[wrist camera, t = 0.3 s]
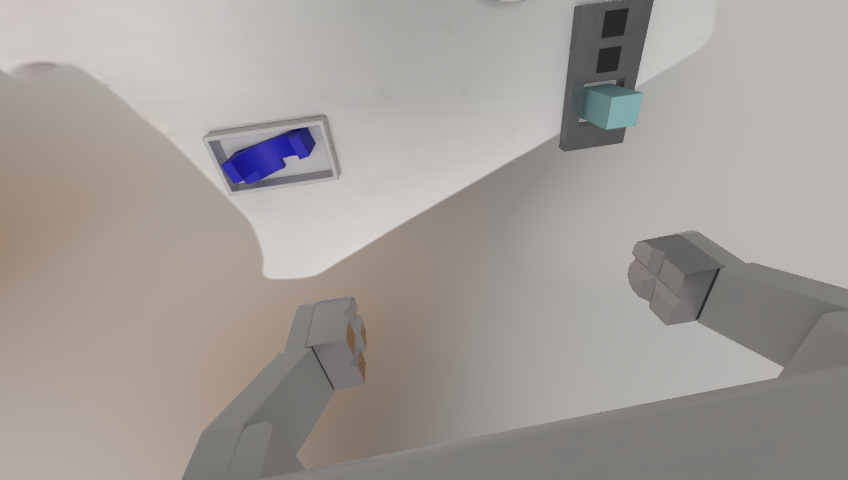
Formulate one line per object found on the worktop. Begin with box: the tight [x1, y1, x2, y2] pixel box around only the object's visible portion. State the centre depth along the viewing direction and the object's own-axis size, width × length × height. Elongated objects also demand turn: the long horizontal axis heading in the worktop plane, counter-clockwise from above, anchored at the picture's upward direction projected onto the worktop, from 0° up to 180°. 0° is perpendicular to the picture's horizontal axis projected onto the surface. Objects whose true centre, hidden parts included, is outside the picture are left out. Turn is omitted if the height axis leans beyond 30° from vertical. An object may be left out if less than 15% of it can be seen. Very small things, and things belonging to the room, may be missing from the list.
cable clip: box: [221, 127, 316, 184], centre depth 51 cm, size 12×4×6 cm, turn 108°
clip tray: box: [202, 116, 340, 196], centre depth 52 cm, size 9×17×3 cm, turn 97°
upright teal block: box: [580, 84, 643, 130], centre depth 51 cm, size 4×4×8 cm
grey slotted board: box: [559, 0, 654, 151], centre depth 52 cm, size 20×10×2 cm, turn 7°
